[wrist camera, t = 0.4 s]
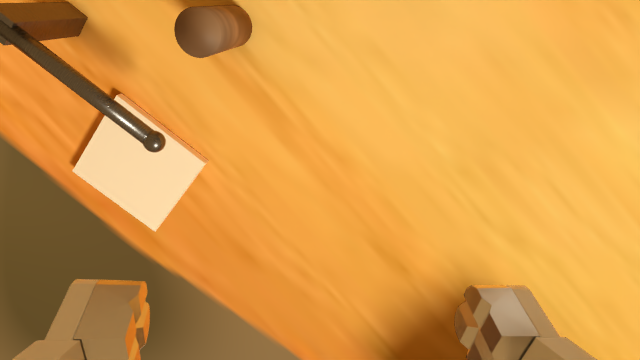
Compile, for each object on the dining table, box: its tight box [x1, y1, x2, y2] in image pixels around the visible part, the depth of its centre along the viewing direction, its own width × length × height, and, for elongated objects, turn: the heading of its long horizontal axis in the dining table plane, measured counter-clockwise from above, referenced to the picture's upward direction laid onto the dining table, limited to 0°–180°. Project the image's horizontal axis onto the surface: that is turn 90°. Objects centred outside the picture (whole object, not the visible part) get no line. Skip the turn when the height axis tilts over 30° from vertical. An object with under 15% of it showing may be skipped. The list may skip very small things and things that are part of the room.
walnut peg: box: [175, 5, 252, 58], centre depth 40 cm, size 4×4×9 cm
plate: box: [73, 93, 208, 231], centre depth 52 cm, size 12×12×1 cm
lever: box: [0, 2, 166, 153], centre depth 43 cm, size 2×18×10 cm, turn 51°
